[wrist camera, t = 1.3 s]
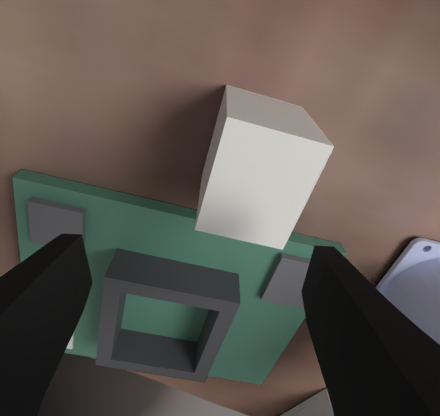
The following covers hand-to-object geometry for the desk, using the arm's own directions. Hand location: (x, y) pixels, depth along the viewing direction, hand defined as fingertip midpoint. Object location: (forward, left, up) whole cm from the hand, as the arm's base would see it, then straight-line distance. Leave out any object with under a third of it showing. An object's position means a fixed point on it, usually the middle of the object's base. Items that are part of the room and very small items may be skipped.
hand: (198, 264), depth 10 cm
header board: (0, +12, -9) cm, 14 cm away
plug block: (-2, -1, -9) cm, 9 cm away
